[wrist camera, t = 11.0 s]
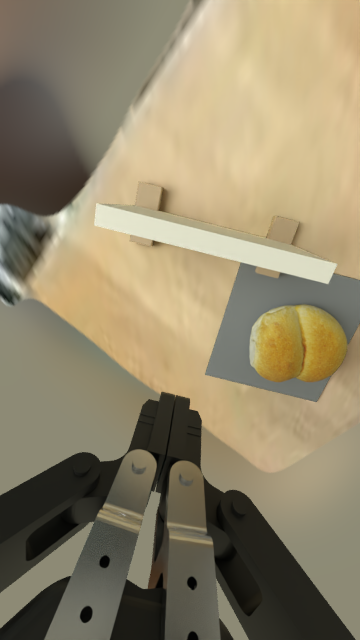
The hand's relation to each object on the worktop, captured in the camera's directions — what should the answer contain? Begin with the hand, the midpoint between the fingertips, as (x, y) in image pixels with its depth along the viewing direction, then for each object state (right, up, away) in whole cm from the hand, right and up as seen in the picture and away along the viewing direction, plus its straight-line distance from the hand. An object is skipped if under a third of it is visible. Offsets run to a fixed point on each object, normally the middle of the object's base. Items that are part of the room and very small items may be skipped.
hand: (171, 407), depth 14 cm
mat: (+11, +3, +14) cm, 18 cm away
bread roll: (+12, +2, +14) cm, 19 cm away
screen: (+3, +13, +11) cm, 17 cm away
